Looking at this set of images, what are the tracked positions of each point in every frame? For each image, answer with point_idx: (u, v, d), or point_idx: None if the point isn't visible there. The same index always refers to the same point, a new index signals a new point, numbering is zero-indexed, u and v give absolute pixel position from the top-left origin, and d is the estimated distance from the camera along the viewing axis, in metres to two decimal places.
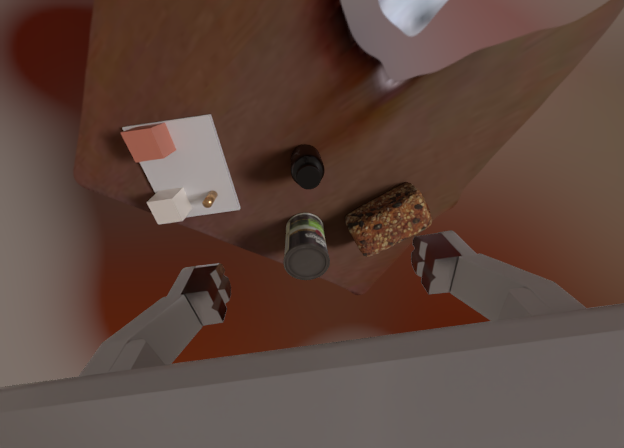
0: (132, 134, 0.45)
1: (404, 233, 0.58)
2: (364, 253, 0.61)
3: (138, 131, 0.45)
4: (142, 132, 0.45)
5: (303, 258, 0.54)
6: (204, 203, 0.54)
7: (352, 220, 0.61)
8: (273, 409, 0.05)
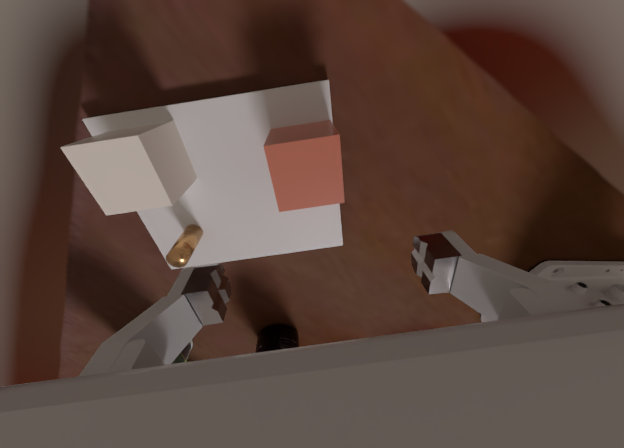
0: (333, 162, 0.19)
1: None
2: None
3: (339, 177, 0.20)
4: (336, 184, 0.20)
5: None
6: (176, 255, 0.24)
7: None
8: (273, 409, 0.05)
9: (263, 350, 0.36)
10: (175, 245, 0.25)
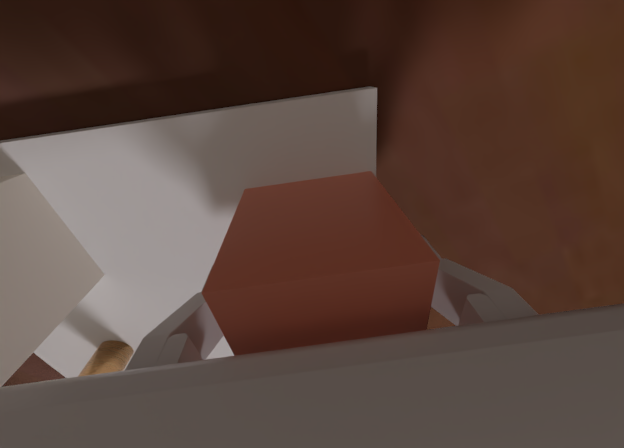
0: (407, 318, 0.07)
1: None
2: None
3: None
4: None
5: None
6: None
7: None
8: (273, 409, 0.05)
9: None
10: None
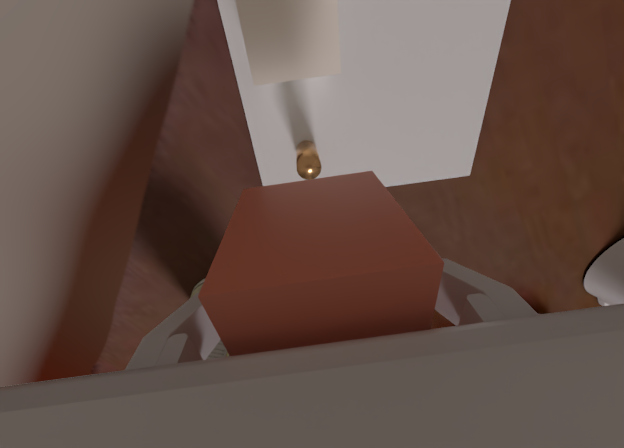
0: (409, 321, 0.07)
1: None
2: None
3: None
4: None
5: None
6: (310, 161, 0.20)
7: None
8: (273, 409, 0.05)
9: None
10: (304, 152, 0.20)
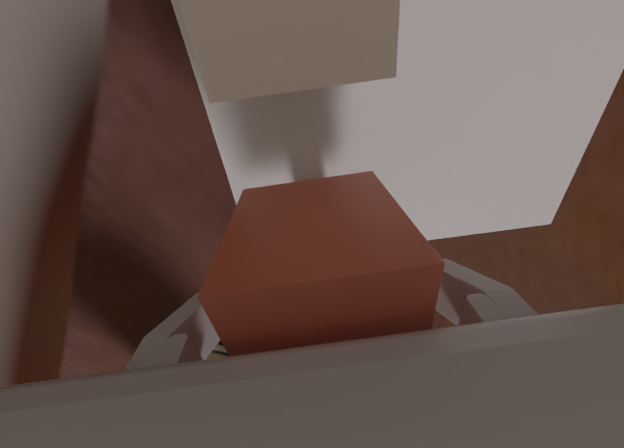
0: (410, 322, 0.07)
1: None
2: None
3: None
4: None
5: None
6: None
7: None
8: (273, 410, 0.05)
9: None
10: None
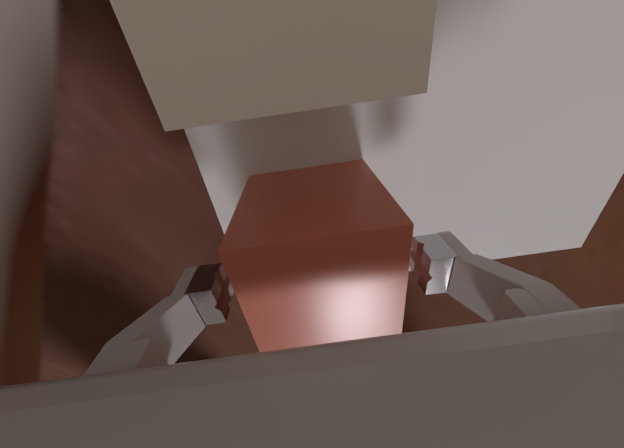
0: (389, 277, 0.08)
1: None
2: None
3: (397, 302, 0.09)
4: (389, 315, 0.09)
5: None
6: None
7: None
8: (273, 409, 0.05)
9: None
10: None
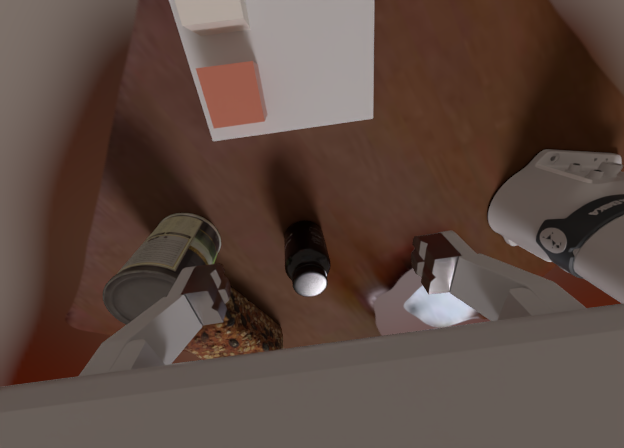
0: (251, 84, 0.25)
1: None
2: None
3: (257, 98, 0.26)
4: (256, 104, 0.26)
5: (160, 297, 0.29)
6: None
7: (228, 304, 0.44)
8: (273, 409, 0.05)
9: (294, 235, 0.38)
10: None
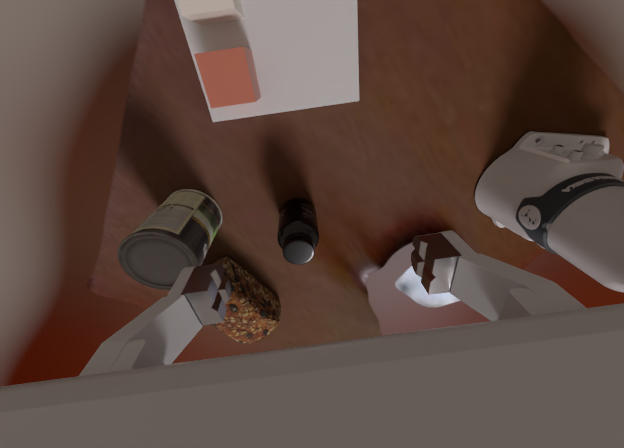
0: (242, 68, 0.29)
1: (230, 331, 0.50)
2: None
3: (248, 80, 0.29)
4: (248, 86, 0.30)
5: (166, 257, 0.34)
6: None
7: (229, 273, 0.48)
8: (273, 409, 0.05)
9: (287, 210, 0.42)
10: None
